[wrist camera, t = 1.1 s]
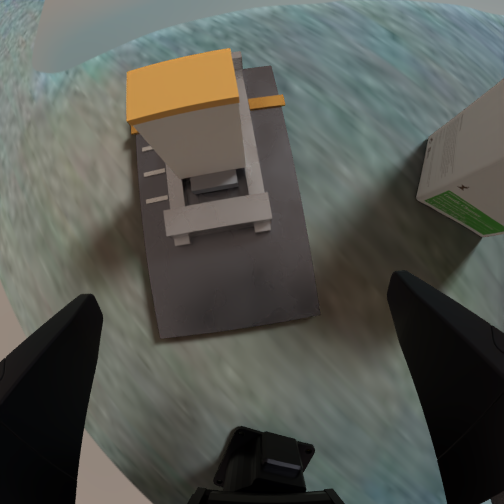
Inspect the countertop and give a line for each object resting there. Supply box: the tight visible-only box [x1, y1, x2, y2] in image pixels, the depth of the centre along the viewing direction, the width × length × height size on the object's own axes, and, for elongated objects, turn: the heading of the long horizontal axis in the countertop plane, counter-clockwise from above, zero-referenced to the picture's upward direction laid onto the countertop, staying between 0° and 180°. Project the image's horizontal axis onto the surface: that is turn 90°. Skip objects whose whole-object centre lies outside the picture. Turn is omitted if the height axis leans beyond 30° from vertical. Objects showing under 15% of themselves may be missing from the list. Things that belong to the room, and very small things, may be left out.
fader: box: [127, 48, 246, 194], centre depth 16 cm, size 4×4×10 cm
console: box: [131, 51, 320, 339], centre depth 21 cm, size 19×12×4 cm, turn 9°
